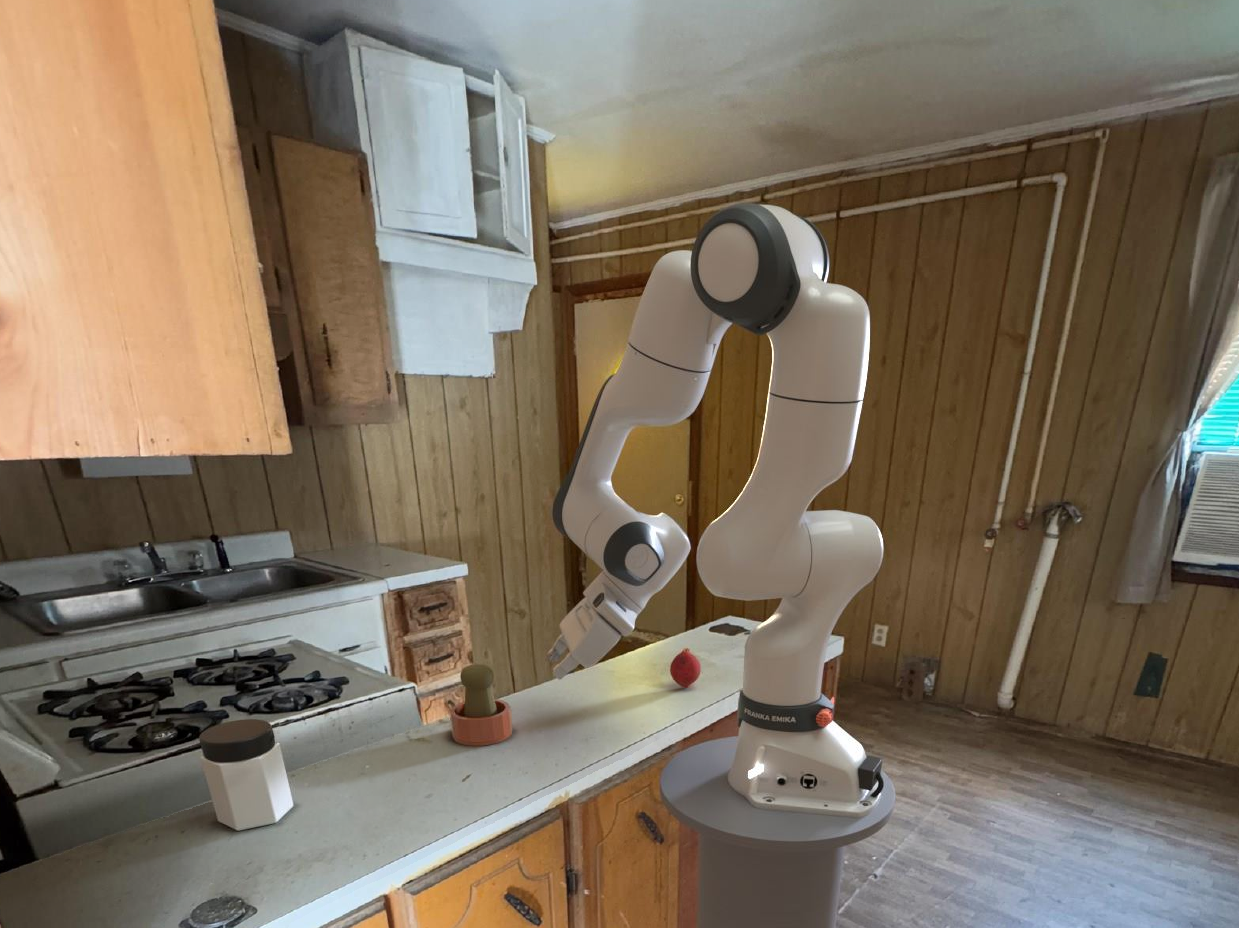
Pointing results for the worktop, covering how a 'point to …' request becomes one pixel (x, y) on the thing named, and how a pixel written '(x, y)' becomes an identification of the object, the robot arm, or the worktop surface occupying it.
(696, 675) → the pomegranate
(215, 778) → the jar
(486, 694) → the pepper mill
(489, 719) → the bowl
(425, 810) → the worktop surface
